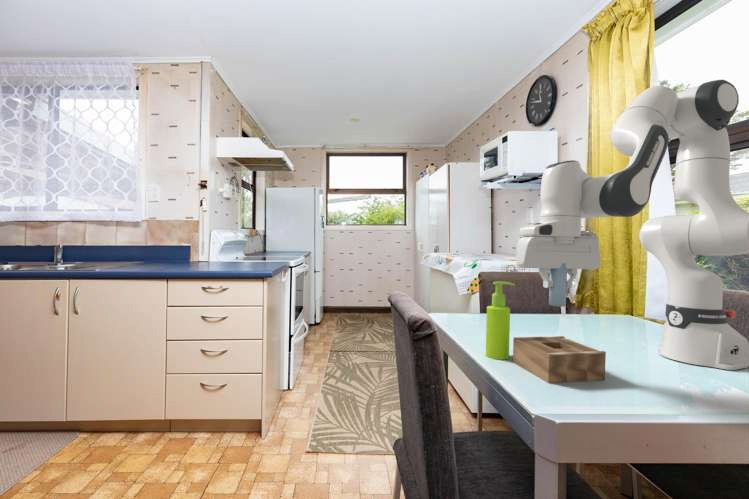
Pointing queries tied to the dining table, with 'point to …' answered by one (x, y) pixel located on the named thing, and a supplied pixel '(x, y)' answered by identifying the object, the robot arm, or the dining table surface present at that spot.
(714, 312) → the robot arm
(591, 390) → the dining table surface
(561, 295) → the dowel
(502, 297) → the soap dispenser
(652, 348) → the dining table surface
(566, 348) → the socket block
